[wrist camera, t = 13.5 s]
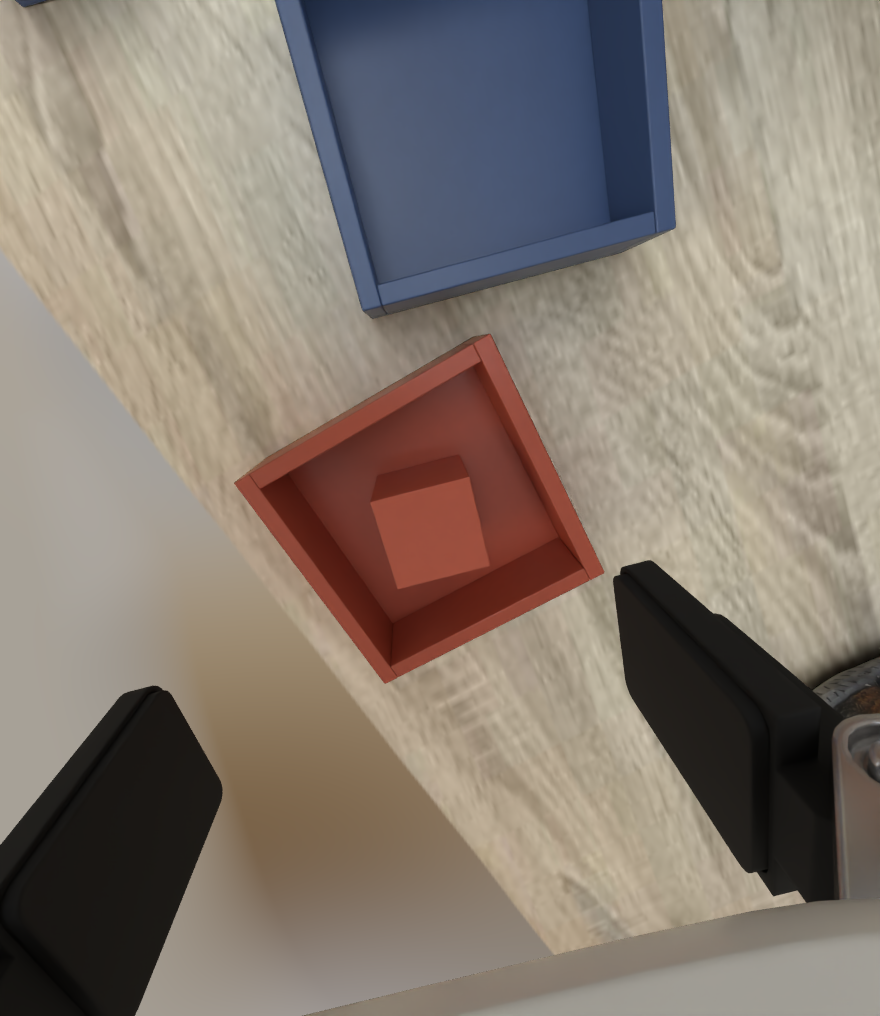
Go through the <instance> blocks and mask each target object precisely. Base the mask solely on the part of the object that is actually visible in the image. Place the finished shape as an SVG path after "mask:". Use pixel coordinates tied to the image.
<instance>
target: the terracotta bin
mask: <svg viewBox="0 0 880 1016" xmlns="http://www.w3.org/2000/svg"><path fill="white" fill-rule="evenodd" d="M454 455H459V456H460V458H461V460H462V462H463V464H464V466H465V469H466V471H467V473H468V475H469V477H470V481H471V485H472V489H473V494H474V498H475V502H476V506H477V511H478V515H479V519H480V524H481V528H482V532H483V536H484V541H485V545H486V549H487V554H488V558H489V562H490V566H488V567H484V568H480V569H476V570H472V571H468V572H464V573H460V574H456V575H452V576H448V577H444V578H440V579H436V580H432V581H429V582H425V583H421V584H417V585H413V586H409V587H405V588H401V589H398V588H397V586H396V582H395V579H394V576H393V573H392V570H391V567H390V563H389V560H388V557H387V554H386V551H385V548H384V545H383V541H382V538H381V535H380V532H379V529H378V526H377V523H376V519H375V516H374V513H373V510H372V507H371V504H370V501H371V497H372V493H373V489H374V485H375V481H376V477H377V475H381V474H384V473H388V472H392V471H396V470H400V469H404V468H408V467H412V466H416V465H419V464H423V463H427V462H431V461H435V460H439V459H443V458H447V457H450V456H454ZM234 484H235V485H236V486H237V488H238V489H239V490H240V492H241V493H242V494H243V496H244V497H245V498H246V500H247V501H248V502H249V504H250V505H251V506H252V508H253V509H254V510H255V512H256V513H257V514H258V516H259V517H260V518H261V520H262V521H263V522H264V524H265V525H266V526H267V528H268V529H269V530H270V532H271V533H272V534H273V536H274V537H275V538H276V540H277V541H278V542H279V544H280V545H281V546H282V548H283V549H284V550H285V552H286V553H287V554H288V556H289V557H290V558H291V560H292V561H293V562H294V564H295V565H296V566H297V568H298V569H299V570H300V572H301V573H302V574H303V576H304V577H305V578H306V580H307V581H308V582H309V584H310V585H311V586H312V588H313V589H314V590H315V592H316V593H317V594H318V596H319V597H320V598H321V600H322V601H323V602H324V604H325V605H326V606H327V608H328V609H329V610H330V612H331V613H332V614H333V616H334V617H335V618H336V620H337V621H338V622H339V624H340V625H341V626H342V627H343V629H344V630H345V631H346V633H347V634H348V635H349V637H350V638H351V639H352V641H353V642H354V643H355V645H356V646H357V647H358V649H359V650H360V651H361V653H362V654H363V655H364V657H365V658H366V659H367V661H368V662H369V663H370V665H371V666H372V667H373V669H374V670H375V671H376V673H377V674H378V675H379V677H380V678H381V679H382V681H383V682H384V683H385V684H386V683H388V682H390V681H392V680H394V679H396V678H397V677H399V676H401V675H403V674H405V673H407V672H409V671H411V670H413V669H415V668H417V667H419V666H421V665H423V664H425V663H427V662H429V661H431V660H433V659H435V658H437V657H439V656H441V655H443V654H445V653H447V652H449V651H451V650H453V649H455V648H457V647H459V646H461V645H463V644H465V643H467V642H469V641H471V640H473V639H475V638H477V637H479V636H481V635H483V634H485V633H486V632H488V631H490V630H492V629H494V628H496V627H498V626H500V625H502V624H504V623H506V622H508V621H510V620H512V619H514V618H516V617H518V616H520V615H522V614H524V613H526V612H528V611H530V610H532V609H534V608H536V607H538V606H540V605H542V604H544V603H546V602H548V601H550V600H552V599H554V598H556V597H558V596H560V595H562V594H564V593H566V592H568V591H570V590H572V589H574V588H575V587H577V586H579V585H581V584H583V583H585V582H587V581H589V579H590V580H592V579H594V578H596V577H598V576H599V575H601V574H603V573H604V570H603V568H602V566H601V564H600V562H599V560H598V558H597V556H596V553H595V551H594V549H593V547H592V545H591V543H590V541H589V539H588V537H587V535H586V533H585V530H584V528H583V526H582V524H581V522H580V520H579V518H578V516H577V514H576V512H575V510H574V507H573V505H572V503H571V501H570V499H569V497H568V495H567V493H566V491H565V489H564V487H563V484H562V482H561V480H560V478H559V476H558V474H557V472H556V470H555V468H554V466H553V464H552V461H551V459H550V457H549V455H548V453H547V451H546V449H545V447H544V445H543V443H542V441H541V438H540V436H539V434H538V432H537V430H536V428H535V426H534V424H533V422H532V420H531V418H530V415H529V413H528V411H527V409H526V407H525V405H524V403H523V401H522V399H521V397H520V395H519V392H518V390H517V388H516V386H515V384H514V382H513V380H512V378H511V376H510V374H509V372H508V369H507V367H506V365H505V363H504V361H503V359H502V357H501V355H500V353H499V351H498V349H497V346H496V344H495V342H494V340H493V338H492V336H491V334H486V335H481V336H475V337H472V338H471V339H469V340H467V341H465V342H464V343H462V344H460V345H459V346H457V347H455V348H453V349H452V350H450V351H448V352H447V353H445V354H443V355H442V356H440V357H438V358H436V359H435V360H433V361H431V362H430V363H428V364H426V365H424V366H423V367H421V368H419V369H418V370H416V371H414V372H412V373H411V374H409V375H407V376H406V377H404V378H402V379H400V380H399V381H397V382H395V383H394V384H392V385H390V386H389V387H387V388H385V389H383V390H382V391H380V392H378V393H377V394H375V395H373V396H371V397H370V398H368V399H366V400H365V401H363V402H361V403H359V404H358V405H356V406H354V407H353V408H351V409H349V410H347V411H346V412H344V413H342V414H341V415H339V416H337V417H336V418H334V419H332V420H330V421H329V422H327V423H325V424H324V425H322V426H320V427H318V428H317V429H315V430H313V431H312V432H310V433H308V434H306V435H305V436H303V437H301V438H300V439H298V440H296V441H295V442H293V443H291V444H289V445H288V446H286V447H284V448H283V449H281V450H279V451H277V452H276V453H274V454H272V455H271V456H269V457H267V458H266V459H264V460H263V461H262V462H260V463H259V464H258V465H257V466H255V467H254V468H253V469H251V470H250V471H249V472H247V473H246V474H245V475H244V476H242V477H241V478H240V479H238V480H237V481H236V482H235V483H234Z"/></svg>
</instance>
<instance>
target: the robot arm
mask: <svg viewBox="0 0 880 1016" xmlns="http://www.w3.org/2000/svg"><path fill="white" fill-rule="evenodd" d="M613 585H614V593H615V601H616V609H617V617H618V625H619V633H620V641H621V649H622V657H623V665H624V673H625V680H626V685H627V688H628V690H629V693H630V695H631V697H632V699H633V700H634V702H635V704H636V705H637V707H638V708H639V710H640V711H641V713H642V714H643V716H644V717H645V719H646V721H647V722H648V724H649V725H650V727H651V728H652V730H653V731H654V733H655V734H656V736H657V738H658V739H659V741H660V742H661V744H662V745H663V747H664V748H665V750H666V751H667V753H668V755H669V756H670V758H671V759H672V761H673V762H674V764H675V765H676V767H677V768H678V770H679V772H680V773H681V775H682V776H683V778H684V779H685V781H686V782H687V784H688V785H689V787H690V789H691V790H692V792H693V793H694V795H695V796H696V798H697V799H698V801H699V802H700V804H701V805H702V807H703V809H704V810H705V812H706V813H707V815H708V816H709V818H710V819H711V821H712V822H713V824H714V826H715V827H716V829H717V830H718V832H719V833H720V835H721V836H722V838H723V839H724V841H725V843H726V844H727V846H728V847H729V849H730V850H731V852H732V853H733V855H734V856H735V858H736V860H737V861H738V862H739V864H740V865H741V867H742V868H743V869H744V870H745V871H746V872H748V873H753V872H757V873H758V874H759V876H760V877H761V879H762V880H763V882H764V883H765V885H766V886H767V888H768V889H769V891H770V892H771V894H772V895H773V896H776V895H781V894H785V893H789V892H793V891H797V890H798V892H799V893H800V894H801V896H802V897H803V899H804V900H805V901H806V903H803V904H796V905H790V906H783V907H776V908H770V909H763V910H757V911H751V912H746V913H741V914H737V915H732V916H727V917H723V918H718V919H713V920H709V921H704V922H699V923H695V924H690V925H685V926H681V927H676V928H671V929H667V930H662V931H657V932H653V933H648V934H643V935H639V936H634V937H629V938H625V939H621V940H616V941H612V942H608V943H604V944H600V945H595V946H591V947H587V948H583V949H578V950H574V951H570V952H566V953H562V954H557V955H553V956H549V957H545V958H541V959H537V960H532V961H528V962H524V963H520V964H516V965H511V966H507V967H503V968H498V969H494V970H490V971H486V972H482V973H477V974H473V975H469V976H465V977H460V978H456V979H452V980H448V981H444V982H440V983H435V984H431V985H427V986H423V987H419V988H415V989H410V990H406V991H402V992H398V993H394V994H390V995H386V996H382V997H378V998H373V999H369V1000H366V1001H361V1002H357V1003H353V1004H349V1005H345V1006H340V1007H336V1008H333V1009H329V1010H324V1011H320V1012H316V1013H312V1014H308V1015H304V1016H880V714H861V715H856V716H853V717H850V718H847V719H845V718H844V717H843V716H842V715H841V714H839V713H838V712H837V711H836V710H835V709H833V708H832V707H831V706H830V705H829V704H828V703H826V702H825V701H824V700H823V699H822V698H820V697H819V696H818V695H817V694H816V693H815V692H813V691H812V690H811V689H810V688H809V687H807V686H806V685H805V684H804V683H803V682H802V681H800V680H799V679H798V678H797V677H796V676H794V675H793V674H792V673H791V672H790V671H789V670H787V669H786V668H785V667H784V666H783V665H781V664H780V663H779V662H778V661H777V660H776V659H774V658H773V657H772V656H771V655H770V654H768V653H767V652H766V651H765V650H764V649H762V648H761V647H760V646H759V645H758V644H757V643H755V642H754V641H753V640H752V639H751V638H749V637H748V636H747V635H746V634H745V633H744V632H742V631H741V630H740V629H739V628H738V627H736V626H735V625H734V624H733V623H732V622H731V621H729V620H728V619H727V618H725V617H724V616H722V615H720V614H713V613H712V612H711V611H710V610H708V609H707V608H706V607H705V606H704V605H703V604H701V603H700V602H699V601H698V600H697V599H696V598H695V597H693V596H692V595H691V594H690V593H689V592H688V591H687V590H685V589H684V588H683V587H682V586H681V585H680V584H678V583H677V582H676V581H675V580H674V579H673V578H672V577H670V576H669V575H668V574H667V573H666V572H665V571H663V570H662V569H661V568H660V567H659V566H658V565H657V564H655V563H654V562H653V561H651V560H648V561H644V562H640V563H636V564H632V565H628V566H624V567H622V568H621V571H620V575H618V576H615V577H614V579H613ZM221 799H222V784H221V781H220V779H219V777H218V776H217V774H216V772H215V770H214V769H213V767H212V765H211V763H210V762H209V760H208V758H207V756H206V755H205V753H204V751H203V750H202V748H201V746H200V744H199V742H198V740H197V739H196V737H195V735H194V734H193V732H192V730H191V728H190V726H189V725H188V723H187V721H186V719H185V718H184V716H183V714H182V712H181V711H180V709H179V707H178V705H177V704H176V702H175V700H174V698H173V697H172V695H171V694H170V693H169V692H168V691H164V690H162V688H160V687H158V686H150V687H146V688H142V689H138V690H134V691H130V692H127V693H124V694H123V695H122V696H121V697H119V699H118V700H117V701H116V702H115V704H114V705H113V706H112V707H111V709H110V710H109V711H108V712H107V713H106V715H105V716H104V717H103V718H102V720H101V721H100V722H99V723H98V725H97V726H96V727H95V728H94V730H93V731H92V732H91V733H90V735H89V736H88V737H87V738H86V740H85V741H84V742H83V743H82V745H81V746H80V747H79V748H78V749H77V751H76V752H75V753H74V754H73V756H72V757H71V758H70V759H69V761H68V762H67V763H66V764H65V766H64V767H63V768H62V769H61V771H60V772H59V773H58V774H57V775H56V777H55V778H54V779H53V780H52V782H51V783H50V784H49V785H48V787H47V788H46V789H45V790H44V792H43V793H42V794H41V795H40V797H39V798H38V799H37V800H36V802H35V803H34V804H33V805H32V806H31V808H30V809H29V810H28V811H27V813H26V814H25V815H24V816H23V818H22V819H21V820H20V821H19V823H18V824H17V825H16V826H15V828H14V829H13V830H12V831H11V833H10V834H9V835H8V836H7V838H6V839H5V840H4V841H3V842H2V844H1V845H0V1016H135V1014H136V1012H137V1010H138V1008H139V1005H140V1003H141V1000H142V998H143V995H144V993H145V990H146V988H147V985H148V983H149V980H150V978H151V975H152V973H153V970H154V968H155V965H156V963H157V960H158V958H159V955H160V953H161V950H162V948H163V945H164V943H165V940H166V938H167V935H168V933H169V930H170V928H171V925H172V923H173V920H174V918H175V915H176V913H177V910H178V908H179V905H180V903H181V900H182V898H183V895H184V893H185V890H186V888H187V885H188V883H189V880H190V878H191V875H192V873H193V870H194V868H195V865H196V863H197V860H198V857H199V855H200V853H201V850H202V848H203V845H204V843H205V840H206V838H207V835H208V832H209V830H210V828H211V825H212V823H213V820H214V818H215V815H216V812H217V810H218V808H219V805H220V803H221Z"/></svg>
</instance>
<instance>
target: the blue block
mask: <svg viewBox="0 0 880 1016" xmlns="http://www.w3.org/2000/svg"><path fill="white" fill-rule="evenodd" d="M15 1H16V2H18V3H19V4H20V5H21V6H23V7H26V6H30V5H33V4H37V3H40V2H44V1H47V0H15Z"/></svg>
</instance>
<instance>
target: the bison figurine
mask: <svg viewBox="0 0 880 1016" xmlns="http://www.w3.org/2000/svg"><path fill="white" fill-rule="evenodd" d="M812 691H813V692H815V693H816V694H817V695H818V696H819V697H820V698H822V699H823V700H824V701H825V702H826V703H828V704H829V705H830V706H831V707H832V708H833V709H835V710H836V711H837V712H838V713H839V714H841V715H842V716H843V717H844V718H845V719H847V718H850V717H853V716H856V715H861V714H880V657H878V658H875V659H873V660H870V661H868V662H866V663H864V664H861V665H859V666H857V667H854V668H852V669H849V670H846V671H843V672H841V673H838V674H837V675H835V676H833V677H832V678H830V679H828V680H827V681H825V682H824V683H822V684H821V685H819V686H818V687H816V688H815V689H813V690H812Z"/></svg>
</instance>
